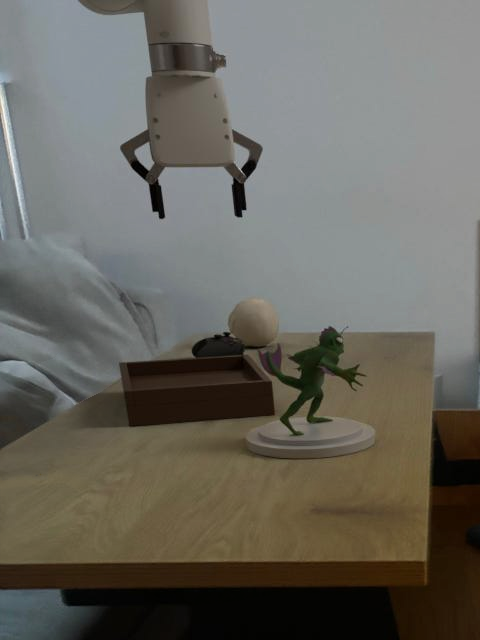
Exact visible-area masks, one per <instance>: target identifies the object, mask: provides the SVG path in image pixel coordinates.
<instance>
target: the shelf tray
mask: <svg viewBox="0 0 480 640" xmlns="http://www.w3.org/2000/svg"><path fill="white" fill-rule="evenodd" d="M118 365H119V372H120V378H121V384H122V390H123V397H124V402H125V409H126V415H127V420H128V426H129V427H139V426H152V425H153V426H154V425H165V424H166V425H167V424H176V423H178V424H179V423H189V422H201V421H212V420H213V421H214V420H227V419H239V418H250V417H251V418H252V417H264V416H275V415H276V410H275V401H274V400H275V398H274V388H273V387H274V386H273V382H272V379H271V378H270V377H269V376H268V375H267V374H266V373H265V372H264V371H263V369H262V368H261V367H260V366H259V365H258V364H257V363H256V361H255V360H254V359H253V358H252V357H251V356H250V355H249V354H243V355H233V356H217V357H201V358H196V357H190V358H189V357H186V358H171V359H155V360H137V361H136V360H135V361H127V362H126V361H122V362H118Z"/></svg>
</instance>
